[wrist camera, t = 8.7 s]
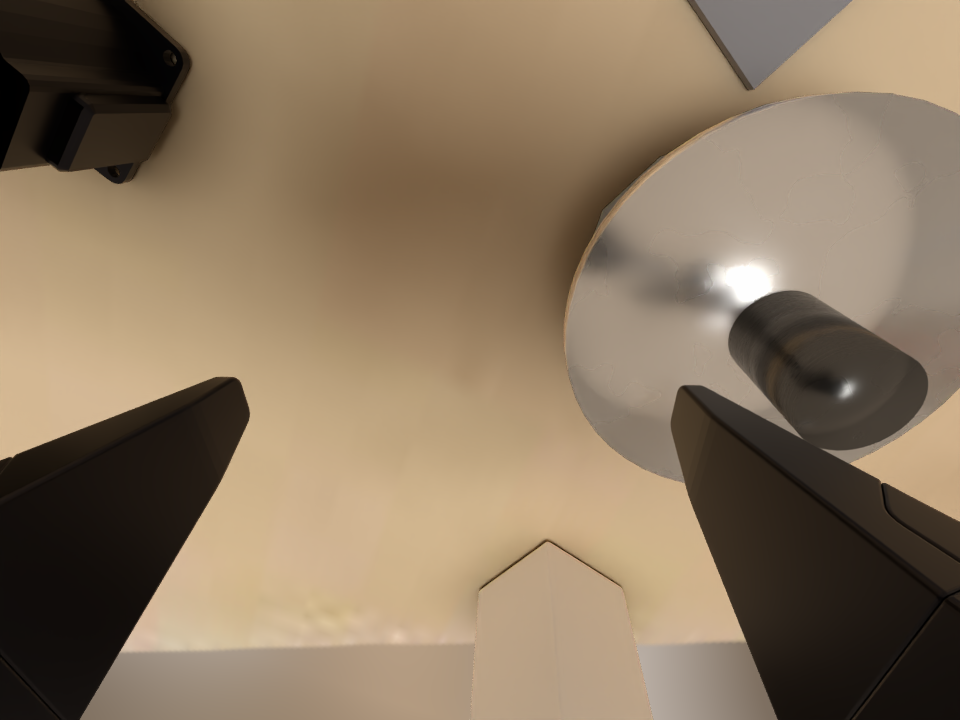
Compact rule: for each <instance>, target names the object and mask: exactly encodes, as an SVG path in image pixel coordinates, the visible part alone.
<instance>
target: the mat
mask: <svg viewBox="0 0 960 720" xmlns="http://www.w3.org/2000/svg"><path fill="white" fill-rule="evenodd" d="M688 1H689V3H690V4H691V6H692V7H693V9H694V10H695V12H696V13H697V15H698V16H699V18H700V19H701V21H702V22H703V24H704V25H705V27H706V28H707V30H708V31H709V33H710V34H711V36H712V37H713V39H714V40H715V42H716V43H717V45H718V46H719V48H720V49H721V51H722V52H723V53H724V55H725V56H726V58H727V59H728V61H729V62H730V64H731V65H732V67H733V68H734V70H735V71H736V73H737V74H738V76H739V77H740V79H741V80H742V82H743V83H744V85H745V86H746V88H747V89H748V90H752V89H755V88H756V87H757V86H758V85H760V84H761V83H762V82H763V81H764V80H765V79H766V78H767V77H768V76H769V75H771V74H772V73H773V72H774V71H775V70H776V69H777V68H778V67H779V66H781V65H782V64H783V63H784V62H785V61H786V60H787V59H788V58H789V57H790V56H792V55H793V54H794V53H795V52H796V51H797V50H798V49H799V48H800V47H801V46H803V45H804V44H805V43H806V42H807V41H808V40H809V39H810V38H811V37H813V36H814V35H815V34H816V33H817V32H818V31H819V30H820V29H821V28H822V27H824V26H825V25H826V24H827V23H828V22H829V21H830V20H831V19H832V18H834V17H835V16H836V15H837V14H838V13H839V12H840V11H841V10H842V9H843V8H845V7H846V6H847V5H848V4H849V3H850V2H851V1H852V0H688Z"/></svg>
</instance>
